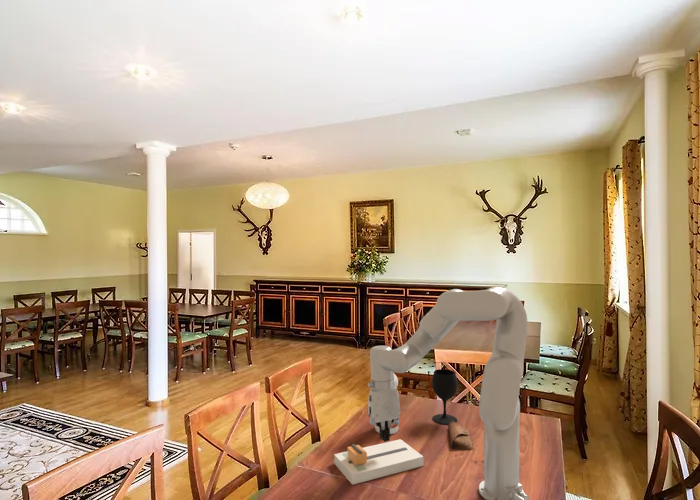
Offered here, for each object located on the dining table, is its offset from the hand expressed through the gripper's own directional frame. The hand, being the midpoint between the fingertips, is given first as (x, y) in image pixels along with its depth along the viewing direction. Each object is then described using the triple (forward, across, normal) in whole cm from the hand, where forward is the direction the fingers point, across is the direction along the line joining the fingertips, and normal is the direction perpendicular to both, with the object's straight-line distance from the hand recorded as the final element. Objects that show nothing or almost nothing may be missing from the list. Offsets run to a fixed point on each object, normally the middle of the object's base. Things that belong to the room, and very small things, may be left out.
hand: (385, 439), depth 137 cm
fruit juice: (+8, +14, +23) cm, 28 cm away
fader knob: (+5, -10, +1) cm, 11 cm away
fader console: (+8, -2, +1) cm, 8 cm away
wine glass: (+9, +41, +21) cm, 47 cm away
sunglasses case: (+10, +35, +4) cm, 37 cm away
